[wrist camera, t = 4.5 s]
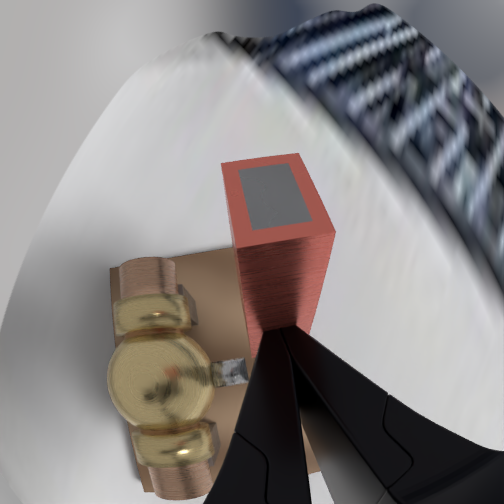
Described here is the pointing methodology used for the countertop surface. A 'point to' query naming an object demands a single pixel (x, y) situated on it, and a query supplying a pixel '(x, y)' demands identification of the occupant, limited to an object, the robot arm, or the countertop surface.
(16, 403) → the countertop surface
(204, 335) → the mounting board
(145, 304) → the valve body
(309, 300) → the valve lever
